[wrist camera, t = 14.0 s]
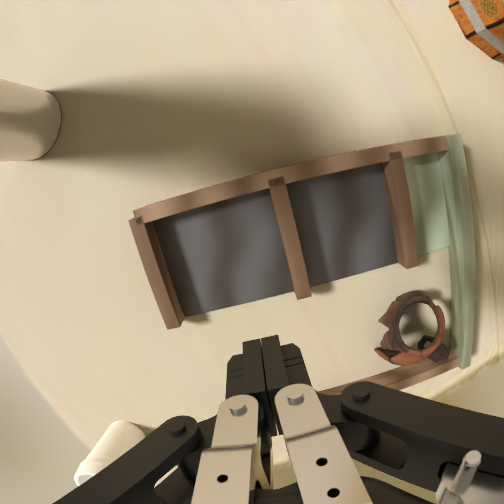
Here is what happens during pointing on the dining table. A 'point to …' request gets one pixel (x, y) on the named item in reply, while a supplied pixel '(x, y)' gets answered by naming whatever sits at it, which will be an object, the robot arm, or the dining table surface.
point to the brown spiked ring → (426, 345)
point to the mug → (481, 24)
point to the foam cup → (109, 449)
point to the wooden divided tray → (318, 236)
